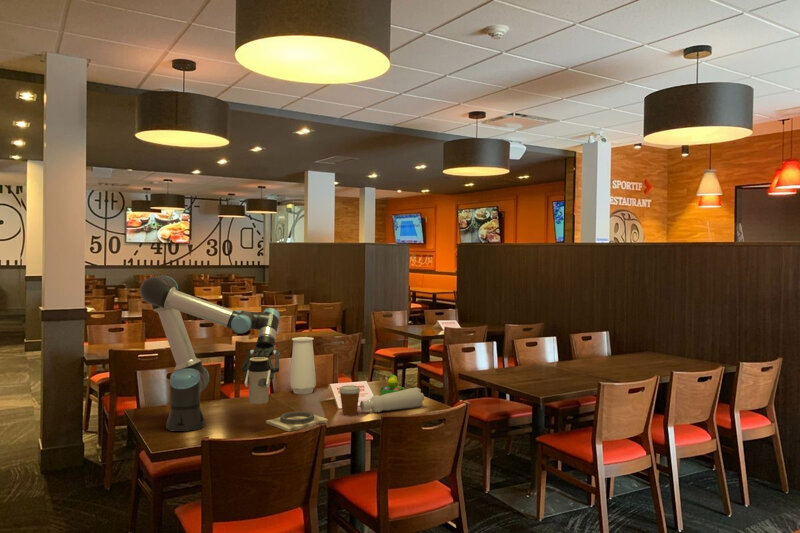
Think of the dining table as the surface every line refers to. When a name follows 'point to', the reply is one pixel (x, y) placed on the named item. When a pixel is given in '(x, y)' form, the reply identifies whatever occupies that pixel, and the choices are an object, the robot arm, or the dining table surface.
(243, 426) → the dining table surface
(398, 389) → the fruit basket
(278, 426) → the collar board
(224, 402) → the dining table surface
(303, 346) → the vase
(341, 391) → the disposable coffee cup
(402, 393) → the bottle
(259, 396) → the travel mug
